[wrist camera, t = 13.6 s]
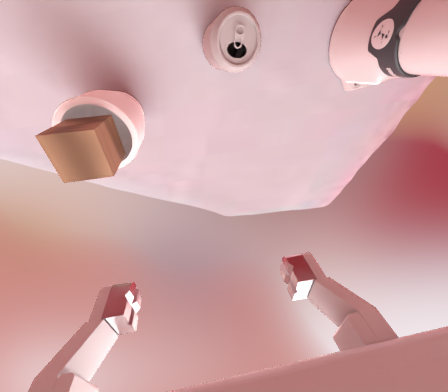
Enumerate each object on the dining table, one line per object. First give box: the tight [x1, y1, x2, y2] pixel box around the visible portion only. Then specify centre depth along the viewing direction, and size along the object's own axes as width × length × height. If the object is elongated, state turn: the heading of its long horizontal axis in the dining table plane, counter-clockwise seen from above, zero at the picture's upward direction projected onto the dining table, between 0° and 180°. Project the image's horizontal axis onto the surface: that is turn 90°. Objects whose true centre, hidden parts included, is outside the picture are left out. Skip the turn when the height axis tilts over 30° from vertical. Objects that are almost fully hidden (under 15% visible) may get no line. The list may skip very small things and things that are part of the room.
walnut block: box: [36, 115, 126, 183], centre depth 24 cm, size 6×6×7 cm
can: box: [203, 6, 261, 73], centre depth 32 cm, size 8×8×12 cm
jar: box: [52, 90, 145, 169], centre depth 33 cm, size 11×10×15 cm
